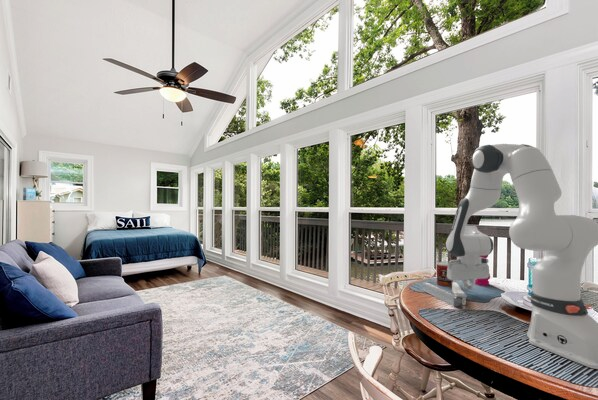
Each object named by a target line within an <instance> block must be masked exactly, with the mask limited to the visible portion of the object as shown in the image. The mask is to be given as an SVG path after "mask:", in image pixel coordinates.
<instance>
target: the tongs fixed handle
mask: <svg viewBox="0 0 598 400" xmlns="http://www.w3.org/2000/svg"><path fill="white" fill-rule="evenodd" d="M422 286H423V289H422V290H423V292H425V293H427V294H429V295H431V296H433V297H435V298H437V299H439V300H441V301H443V302H445V303H448V304H449V305H452V306H453V307H454V308H457V309H463V305H462V298H460V297H456V296H455V294H454V293H453V292H450V291H448V290H445V289H443V288H441V287H438V286H436V285H434V284H432V283H429V282H423V285H422Z"/></svg>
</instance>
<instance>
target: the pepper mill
mask: <svg viewBox="0 0 598 400" xmlns="http://www.w3.org/2000/svg"><path fill="white" fill-rule="evenodd" d="M480 257H483V258H486V259H488V257H489V255H485V256H480ZM490 279H491V275H490V273H489V277H488V278H485V279H474V284H475V285H478V286H483V287H488V286H489V285H490V281H489V280H490Z"/></svg>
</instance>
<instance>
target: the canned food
mask: <svg viewBox="0 0 598 400" xmlns="http://www.w3.org/2000/svg"><path fill="white" fill-rule="evenodd" d="M448 263H449V262H447V261H439V262H438V261H437V262H436V283H437V285H439V286H443V287H452V282H454V281H452V280H450V279H448V278H447V268H448Z"/></svg>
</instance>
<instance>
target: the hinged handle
mask: <svg viewBox="0 0 598 400" xmlns="http://www.w3.org/2000/svg"><path fill="white" fill-rule="evenodd" d="M451 291H452V294H455V296H456V297H460V298H462V306H466V305H467V300H466V299H468V295H467V294H466V293H465V292H464V291H463V289H462V288H461V287H460V285H459V284H458V283H457V282H454V281H453V282H452V286H451Z"/></svg>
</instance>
